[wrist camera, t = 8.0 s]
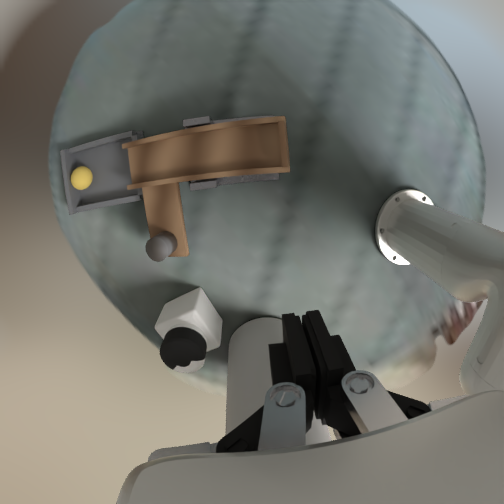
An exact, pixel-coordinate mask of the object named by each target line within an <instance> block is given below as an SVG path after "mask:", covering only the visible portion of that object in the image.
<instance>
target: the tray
mask: <svg viewBox="0 0 504 504" xmlns="http://www.w3.org/2000/svg"><path fill="white" fill-rule="evenodd" d="M143 138H144V136H143V131H138V132H136V131H128V132H124V133H120V134H116V135H112V136H109V137H105V138H102V139H98V140H95V141H91V142H88V143H85V144H82V145H79V146H76V147H73V148H70V149H63V150H61V151H60V153H61V163H62V171H63V179H64V186H65V192H66V198H67V204H68V210H69V215H71V214H75V213H77V212H82V211H87V210H92V209H97V208H102V207H107V206H112V205H118V204H123V203H129V202H135V201H140V200H142V199H144V198H143V191H142V188H136V189H130V190H127V185H130V184H132V180H131V172H130V164H129V156H128V148H126V149H122V144H124V143H128V142H132V141H135V140H139V139H143ZM80 166H85V167H87V168H89V169H90V170H91V172H92V175H93V179H92V182H91V184H90V186H89V187H88V188H86V189H84V190H78V189H76V188H74V187H73V185H72V183H71V175H72V173H73V171H74V170H75V169H76V168H78V167H80Z"/></svg>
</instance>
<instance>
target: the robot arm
mask: <svg viewBox="0 0 504 504" xmlns="http://www.w3.org/2000/svg"><path fill="white" fill-rule="evenodd" d="M395 198H396V200H395ZM380 229H381V230H380ZM375 236H376V242H377V245H378V247H379V249H380V251H381V253H382V254H383V255H384V256H385V257H386V258H387V259H388V260H390V261H391V262H393V263H396V264H401V265H406V264H411V265H413V266H414V267H415V268H417V269H418V270H419V271H421V272H422V273H423V274H425V275H426V276H427V277H429V278H430V279H431V280H433V281H434V282H435V283H437V284H438V285H439V286H440V287H442V288H443V289H444V290H446V291H447V292H448V293H449V294H451V295H452V296H453V297H455V298H456V299H458V300H460V301H463V302H478V301H482V300H485V299H488V303H487V306H486V309H485V312H484V315H483V319H482V321H481V323H480V326H479V328H478V330H477V333H476V335H475V337H474V339H473V341H472V343H471V346H470V348H469V350H468V352H467V354H466V356H465V358H464V360H463V363H462V366H461V369H460V374H459V375H460V376H459V379H460V386H461V388H462V390H463V392H464V393H465V395H462V396H458V397H453V398H448V399H443V400H437V401H431V402H429V404H427V405H426V404H425V403H423V402H421V401H418V400H414V399H411V398H408V397H405V396H402V395H399V394H396V393H393V392H390V391H387V390H386V389H385V388H384V387H383V385H382V384H381V383H380V381H379V380H378V379H377V378H376V377H375V376H374V375H373V374H372V373H370V372H368V371H363V370H357V371H356V369H355V367H354V365H353V363H352V360H351V358H350V356H349V354H348V352H347V350H346V348H345V346H344V344H343V342H342V339H341V337H340V336H339V335H334V336H330V334H329V332H328V330H327V327H326V325H325V323H324V321H323V318H322V316H321V314H320V312H319V310H314V311H307V312H306V315H302V323H301V320H300V317H299V316H295V314H294V313H290V314H282V329H283V343H274V344H268V346H269V358H270V369H271V378H272V387H270V388H269V390H268V391H267V393H266V395H265V402H264V405H263V406H262V407H261V408H259V409H258V410H257V411H256V412H255V413H253V414H252V415H251V416H250V417H249V418H247V419H246V420H245V421H244V422H242V423H241V424H240V425H239V426H237V427H236V428H235V429H233V430H232V431H231V432H230V433H228V434H227V435H226V436H224V437H223V438H222V439H221V440H220V441H219V442H218V443H213V444H210V443H209V442H205V443H200V444H193V445H186V446H179V447H171V448H162V449H158V450H156V451H154V452H153V453H151V455H150V456H149V458H148V462H146V463H143V464H141V465H139V466H137V467H136V468H134V469H133V470H132V471H131V472H130V473H129V475H128V476H127V478H126V480H125V482H124V484H123V486H122V488H121V491H120V494H119V497H118V500H117V503H116V504H504V232H501V231H499V230H496V229H493V228H491V227H488V226H486V225H483V224H481V223H478V222H476V221H473V220H471V219H468V218H466V217H463V216H461V215H458V214H455V213H452V212H450V211H447V210H444V209H441V208H439V207H436V206H434V205H433V203H432V201H431V200H430V199H429V197H428V196H427V195H425V194H424V193H422V192H420V191H417V190H413V189H404V190H400V191H398V192H396V193H394V194H393V195H392V196H390V197H389V198H388V199H387V200H386V202H385V203H384V204H383V206H382V208H381V209H380V211H379V214H378V216H377V221H376V226H375ZM314 413H315V417H316V419H321V423H322V425H328V426H330V427H332V428H333V431H334V434H335V436H336V439H337V440H333V441H328V442H323V443H317V444H312V445H306V433H307V432H308V431H309V430H310V429H311V426H312V420H313V415H314Z"/></svg>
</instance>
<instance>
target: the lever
mask: <svg viewBox="0 0 504 504" xmlns="http://www.w3.org/2000/svg"><path fill="white" fill-rule="evenodd" d="M126 148H128V156H129V164H130V172H131V180H132V184H130V185H127V190H130V189H136V188H142V191H143V198H144V204H145V210H146V216H147V222H148V228H149V233H150V238H151V239H149V240H148V241H147V243H146V252H147V254H148V256H149V257H150V258H151V259H152V260H154V261H157V262H160V261H163V260H164V259H165V258H166V257H182V256H188V255H189V249H188V243H187V237H186V230H185V224H184V217H183V211H182V204H181V196H180V189H179V182H184V181H192V180H201V179H210V178H219V177H230V176H241V175H253V174H267V173H284V172H290V161H289V149H288V137H287V127H286V118H285V116H277V117H265V118H256V119H247V120H239V121H231V122H224V123H217V124H211V125H205V126H199V127H194V128H188V129H183V130H178V131H174V132H169V133H164V134H160V135H156V136H151V137H147V138H143V139H139V140H135V141H132V142H128V143H124V144H122V149H126Z"/></svg>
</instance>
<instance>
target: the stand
mask: <svg viewBox="0 0 504 504" xmlns="http://www.w3.org/2000/svg"><path fill="white" fill-rule="evenodd" d="M265 117H274V115H270V116H255V117H243V118H232V119H223V120H215V121H212V119H211V118H210V116H205V117H198V118H192V119H185V120H183V127H185V129H188V128H194V127H199V126H205V125H211V124H217V123H224V122H231V121H239V120H247V119H256V118H265ZM278 179H279V173H267V174H253V175H241V176H230V177H219V178H210V179H201V180H192V181H191V183H190V191H192V190H200V189H208V188H216V187H217V186H218V185H225V184H234V183H244V182H255V181H266V180H278Z"/></svg>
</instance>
